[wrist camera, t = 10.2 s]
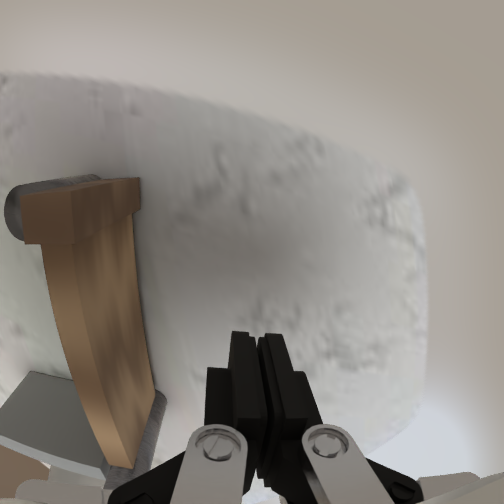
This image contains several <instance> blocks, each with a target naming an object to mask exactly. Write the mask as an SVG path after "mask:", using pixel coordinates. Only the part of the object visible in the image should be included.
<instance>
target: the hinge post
mask: <svg viewBox="0 0 504 504" xmlns="http://www.w3.org/2000/svg"><path fill="white" fill-rule="evenodd" d="M154 390H155V389H154ZM166 405H167V400H166V398H165V396H164V395H163V394H162V393H161V392H159V391H157V390H155V398H154V401H153V404H152V407H151V410H150V414H149V417H148V420H147V423H146V426H145V430H144V433H143V436H142V440H141V443H140V446H139V450H138V453H137V457H136V460H135V463H134V467H133V469H130V468H124V467H119V466H113V465H111V467H110V470H109V473H108V475H107V478H106V481H105V484H104V487H103V489H107V490H114V489H116V488H117V487H119V486H120V485H122V484H124V483H126V482H128V481H130V480H132V479H134V478H136V477H138V476H140V475H142V474H144V473H146V472H148V471H150V468H151V464H152V460H153V456H154V452H155V448H156V444H157V440H158V436H159V432H160V428H161V424H162V420H163V416H164V412H165V409H166Z"/></svg>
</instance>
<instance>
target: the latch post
mask: <svg viewBox="0 0 504 504" xmlns="http://www.w3.org/2000/svg"><path fill="white" fill-rule="evenodd" d="M97 180H102V179H101V178H99V177H98V176H96V175H92V174H89V175H82V176H74V177H67V178H60V179H54V180H47V181H41V182H35V183H29V184H24V185H18V186H16V187H14V188H13V189H12V190H11V191H10V192H9V194H8V196H7V198H6V201H5V206H4V216H5V221H6V224H7V227H8V229H9V231H10V232H11V233H12V235H13V236H14V237H16V238H17V239H19V240H21V241H24V234H23V226H22V216H21V205H20V196H21V195H26V194H30V193H35V192H39V191H44V190H49V189H54V188H59V187H64V186H69V185H74V184H80V183H85V182H91V181H97Z"/></svg>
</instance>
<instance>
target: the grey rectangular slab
mask: <svg viewBox="0 0 504 504" xmlns="http://www.w3.org/2000/svg"><path fill="white" fill-rule="evenodd" d="M0 444H1V445H3V446H5V447H7V448H10V449H12V450H14V451H16V452H19V453H21V454H24V455H26V456H29V457H31V458H34V459H36V460H39V461H42V462H45V463H47V464H50V465H53V466H56V467H59V468H62V469H65V470H68V471H72V472H75V473H78V474H82V475H86V476H89V477H93V478H97V479H101V480H105V481H106V478H107V475H108V473H109V470H110V467H111V465H109V464H108V462H107V460H106V458H105V456H104V454H103V452H102V450H101V447H100V445H99V443H98V441H97V439H96V437H95V434H94V432H93V430H92V428H91V425H90V423H89V420H88V418H87V416H86V413H85V411H84V408H83V406H82V403H81V401H80V398H79V395H78V393H77V390H76V387H75V384H74V381H72V380H67V379H62V378H58V377H53V376H49V375H45V374H41V373H37V372H33V371H30V372H29V373H28V375H27V376H26V377H25V378H24V379H23V381H22V382H21V383H20V384H19V386H18V387H17V388H16V389H15V390H14V392H13V393H12V394H11V395H10V397H9V398H8V399H7V401H6V402H5V403H4V404H3V406H2V407H1V408H0Z"/></svg>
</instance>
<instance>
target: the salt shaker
mask: <svg viewBox="0 0 504 504" xmlns="http://www.w3.org/2000/svg"><path fill="white" fill-rule="evenodd" d="M48 481H51V482H58V483H67V484H76V485H88V486H101V487H102V488H103V486H104V484H105V480H101V479H97V478H93V477H89V476H86V475H82V474H78V473H75V472H72V471H68V470H65V469H62V468H59V467H56V466H53V465H51V468H50V473H49V477H48Z"/></svg>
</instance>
